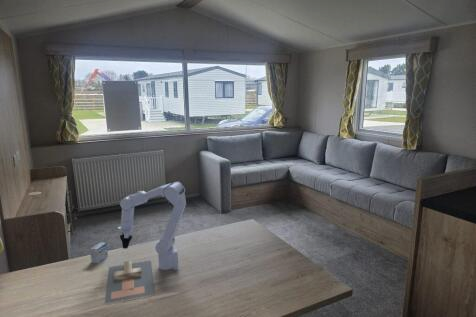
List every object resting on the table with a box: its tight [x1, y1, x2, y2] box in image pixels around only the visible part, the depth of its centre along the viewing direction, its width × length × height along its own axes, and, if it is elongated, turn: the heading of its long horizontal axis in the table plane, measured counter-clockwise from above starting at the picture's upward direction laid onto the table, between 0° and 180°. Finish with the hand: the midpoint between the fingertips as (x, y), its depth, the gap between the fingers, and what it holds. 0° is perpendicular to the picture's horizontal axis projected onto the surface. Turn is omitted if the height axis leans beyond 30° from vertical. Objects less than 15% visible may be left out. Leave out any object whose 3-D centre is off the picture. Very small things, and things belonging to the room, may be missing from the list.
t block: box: [114, 260, 142, 281], centre depth 149 cm, size 12×12×2 cm
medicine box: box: [89, 241, 109, 264], centre depth 160 cm, size 8×4×9 cm, turn 168°
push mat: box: [104, 260, 156, 306], centre depth 143 cm, size 20×29×1 cm
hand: (125, 244), depth 157 cm, fingers open, 7 cm apart
